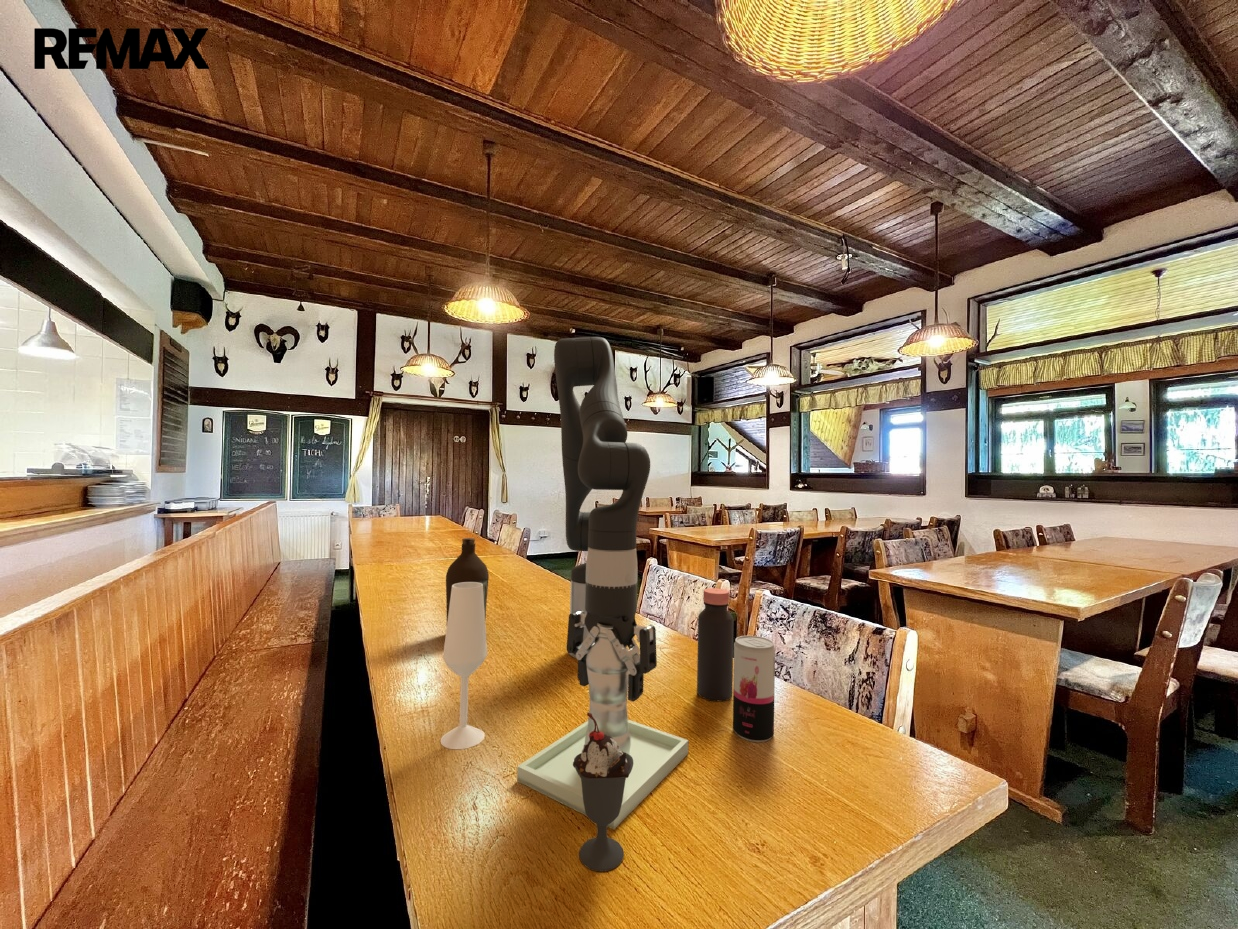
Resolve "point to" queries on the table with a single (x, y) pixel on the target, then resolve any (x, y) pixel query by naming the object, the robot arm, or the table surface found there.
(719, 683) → the dark grey water bottle
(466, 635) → the champagne flute
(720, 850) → the table surface
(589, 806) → the sundae
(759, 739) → the beverage can
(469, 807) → the table surface
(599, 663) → the silver metal bottle
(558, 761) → the tray
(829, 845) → the table surface
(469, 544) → the olive oil
